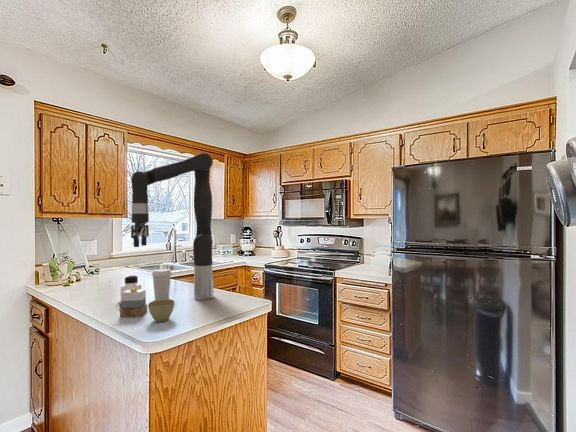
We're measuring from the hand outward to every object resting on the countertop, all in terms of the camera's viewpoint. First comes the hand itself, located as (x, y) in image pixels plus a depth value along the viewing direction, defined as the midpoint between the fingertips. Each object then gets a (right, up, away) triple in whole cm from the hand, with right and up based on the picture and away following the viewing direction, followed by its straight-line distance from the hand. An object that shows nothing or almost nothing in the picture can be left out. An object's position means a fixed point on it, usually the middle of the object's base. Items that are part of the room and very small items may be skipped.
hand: (140, 246), depth 151 cm
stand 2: (+5, -28, -16) cm, 33 cm away
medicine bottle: (-9, -29, +9) cm, 31 cm away
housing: (+5, -25, -16) cm, 30 cm away
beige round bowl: (+20, -28, -24) cm, 42 cm away
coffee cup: (+7, -28, +9) cm, 31 cm away
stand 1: (-2, -28, -4) cm, 28 cm away
